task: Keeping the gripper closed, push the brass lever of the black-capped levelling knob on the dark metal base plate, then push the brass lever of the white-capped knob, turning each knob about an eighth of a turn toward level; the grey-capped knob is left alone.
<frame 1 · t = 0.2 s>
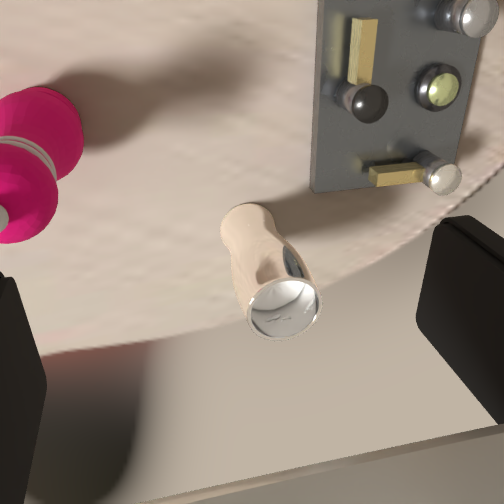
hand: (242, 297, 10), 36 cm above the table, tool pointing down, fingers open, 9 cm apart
black knob: (363, 70, 41), point 4 cm above the table, hinge at 0.0°
base plate: (389, 86, 47), on the table
beer glass: (246, 227, 51), on the table
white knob: (412, 174, 47), point 4 cm above the table, hinge at 0.0°
pepper mill: (44, 122, 41), on the table
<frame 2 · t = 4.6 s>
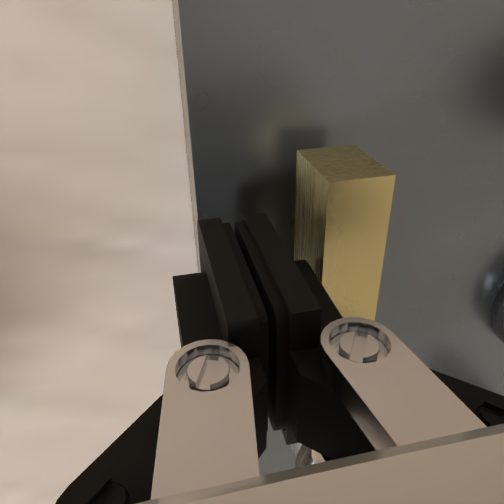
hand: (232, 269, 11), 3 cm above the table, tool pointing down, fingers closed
black knob: (339, 327, 11), point 4 cm above the table, hinge at -0.1°, touching gripper
base plate: (420, 287, 17), on the table
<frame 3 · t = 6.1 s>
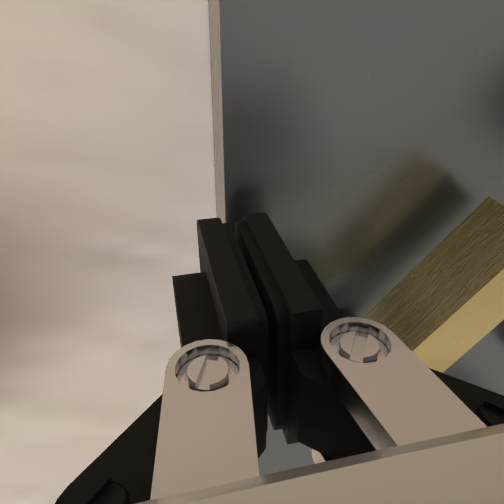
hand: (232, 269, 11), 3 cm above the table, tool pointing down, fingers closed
black knob: (420, 351, 12), point 4 cm above the table, hinge at -41.7°
base plate: (436, 301, 17), on the table
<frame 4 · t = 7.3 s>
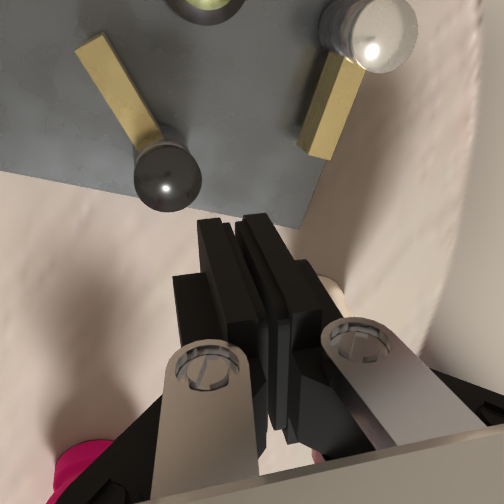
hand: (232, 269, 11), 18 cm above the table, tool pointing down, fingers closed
black knob: (138, 123, 23), point 4 cm above the table, hinge at -46.8°
base plate: (178, 55, 25), on the table
beer glass: (305, 306, 37), on the table
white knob: (344, 81, 24), point 4 cm above the table, hinge at 0.0°
pepper mill: (95, 462, 39), on the table
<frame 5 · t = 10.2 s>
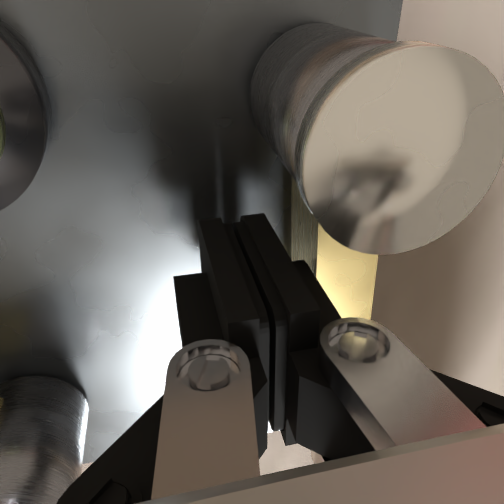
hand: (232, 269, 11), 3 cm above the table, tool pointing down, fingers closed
base plate: (6, 238, 13), on the table
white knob: (342, 233, 10), point 4 cm above the table, hinge at 2.9°, touching gripper
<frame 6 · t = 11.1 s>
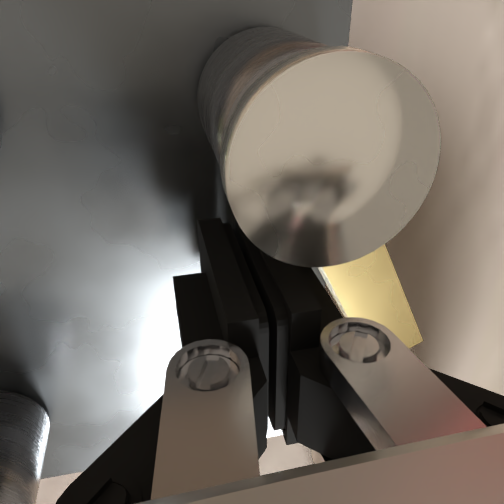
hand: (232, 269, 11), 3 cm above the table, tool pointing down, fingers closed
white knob: (337, 227, 10), point 4 cm above the table, hinge at 26.9°, touching gripper
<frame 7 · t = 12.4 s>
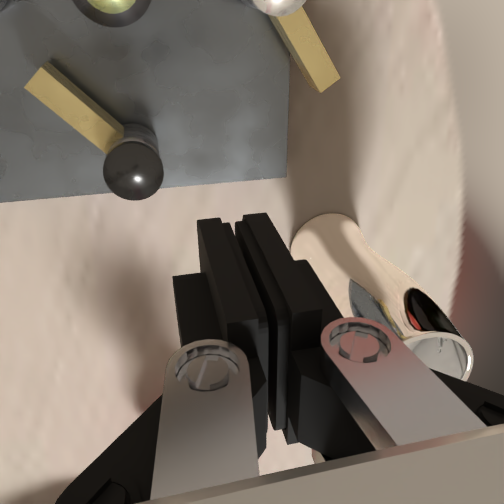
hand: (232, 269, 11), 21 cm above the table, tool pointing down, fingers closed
black knob: (99, 130, 26), point 4 cm above the table, hinge at -47.7°
base plate: (122, 56, 28), on the table
beer glass: (324, 244, 38), on the table
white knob: (293, 21, 25), point 4 cm above the table, hinge at 34.0°
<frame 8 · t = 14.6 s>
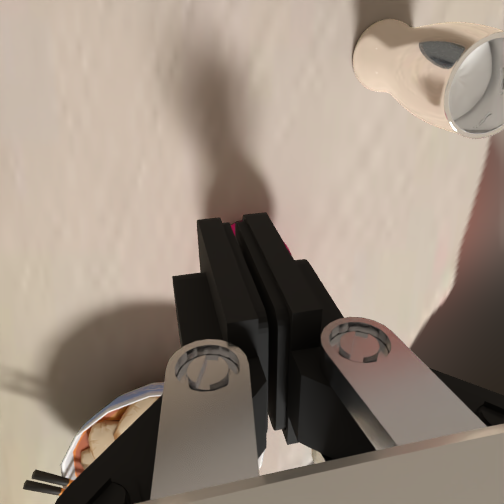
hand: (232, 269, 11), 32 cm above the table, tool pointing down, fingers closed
beer glass: (382, 55, 42), on the table
ramen bowl: (164, 413, 59), on the table
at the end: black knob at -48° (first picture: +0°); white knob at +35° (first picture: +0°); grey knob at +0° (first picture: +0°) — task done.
